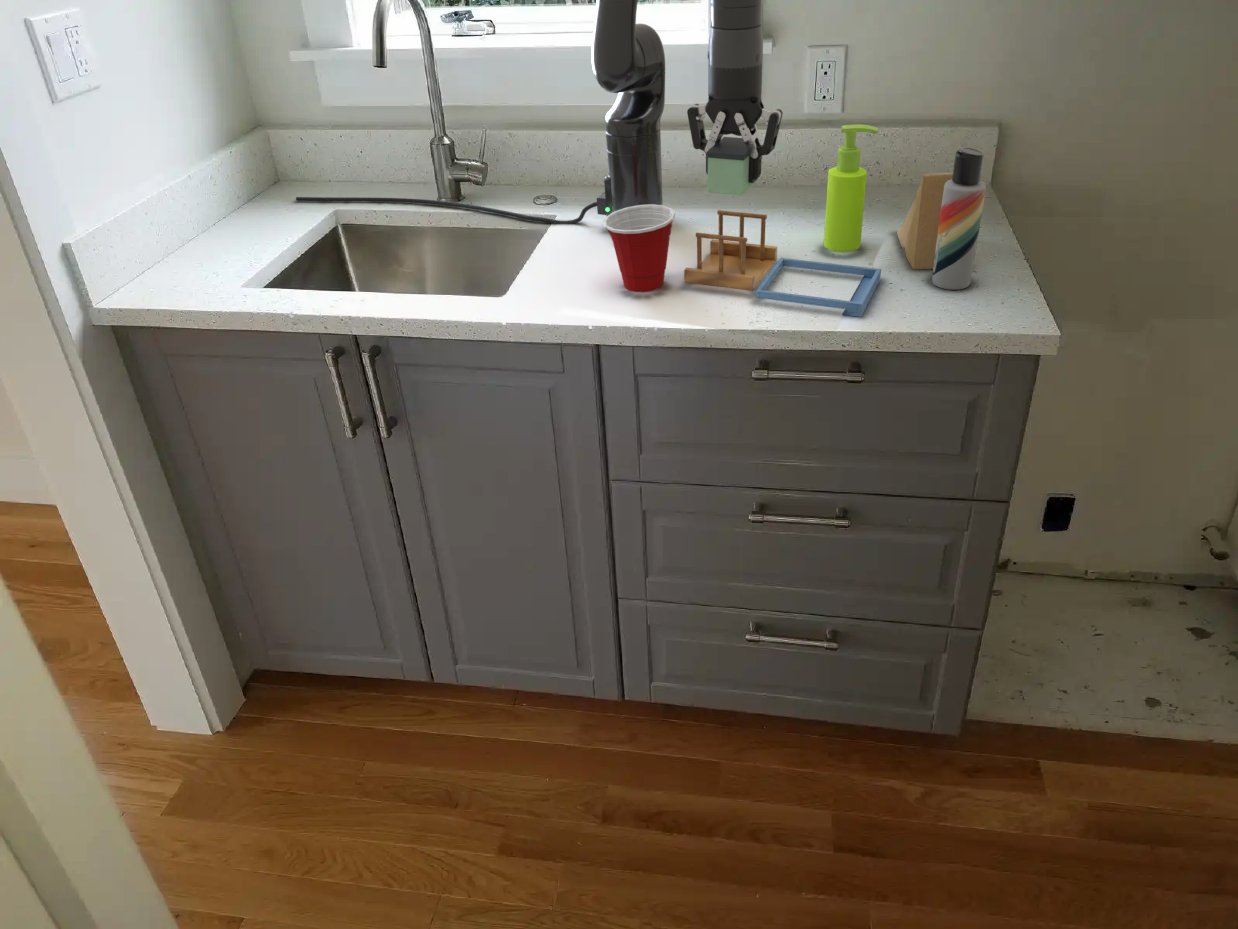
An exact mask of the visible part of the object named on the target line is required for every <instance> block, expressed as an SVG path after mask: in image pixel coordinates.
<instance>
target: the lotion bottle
mask: <svg viewBox="0 0 1238 929" xmlns="http://www.w3.org/2000/svg"><path fill="white" fill-rule="evenodd" d="M984 157H985V153H983V152H982V151H980V150H978V149H975V148H971V147H961V148H958V149H957V151H955V154H954V162H953V168H952V169H953V170H952V172H953V176H952V179H951V180H949V181H947V182H946V183H945V185H944V191H943V198H942V206H941V213H940V221H939V228H938V236H937V243H936V251H935V258H934V266H933V269H932V273H931V274H932V275H931V282H932V283H933V285H934V286H936V287H937V288H940V289H945V290H953V291H954V290H962V289H965V288H968V287H969V286H970V285H971V282H972V278H973V272H974V266H975V259H976V254H977V247H978V241H979V235H980V228H981V223H982V215H983V209H984V203H985V198H986V197H985V196H986V190H987V185H986V183H985V182H984V181H982V180H980V177H981V178H982V169H983V164H984Z"/></svg>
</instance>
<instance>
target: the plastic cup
mask: <svg viewBox="0 0 1238 929" xmlns="http://www.w3.org/2000/svg"><path fill="white" fill-rule="evenodd" d="M675 217H676V212H675V210H674V209H673V208H672V207H670V206H667V205H664V204H663V205H654V204H651V205H637V206H632V207H627V208H624V209H621V210H618V211H615V212H613V213H611V214H610V215H608V216H607V217H606V216H605V218H604V219H603V221H602V223H603V225H604V227H605V229H606V230H607V229H608V231H607V232H608V233H609V236H610V238H611V240H612V244H613V249H614V252H615V256H616V260H617V264H618V268H619V271H620V275H621V279H622V284H623V286H624V288H625V289H626V290H628V291H631V292H634V293H647V292H648V293H649V292H653V291H657V290H658V289H660V288H662V287H663V284H664V281H665V273H666V269H667V263H668V262H667V261H668V255H669V254H668V253H669V247H670V239H671V238H670V237H671V234H672V228H673V221H674V218H675Z"/></svg>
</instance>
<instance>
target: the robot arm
mask: <svg viewBox="0 0 1238 929" xmlns="http://www.w3.org/2000/svg"><path fill="white" fill-rule="evenodd" d="M763 1H764V0H710V29H709V36H708V50H707V60H708V62H707V65H708V66H707V73H708V74H707V75H708V76H707V78H708V79H707V83H708V84H707V94H708V97H707V98H708V99H707V102H706V103H705V104H699V103H695V104H693V105H691V106H690V107H689V108H688V109H687V111H686V114H687V118H688V126H689V130H690V137H691V141H692V146H693V149H694V150H701V151H703V153H705V155H706V152H707V151H708V150H709V149H710V148H712V147H713V146H715V145H716V143H719V142H720V140H721V139H722V138H723V137H724V136H728V135H733V136H739V137H741V138H743V141H744V143H745V144H746V145H747V148H748V149H750V156H751V157H750V158H749V175H748V182H749V183H754V182H755V181H756V180H757V179H758V180H759V178H760V177H761V174H762V157H763V156H768V155H770V154H771V153H772V152H773V151H774V149H775V148H776V144H777V140H778V136H779V132H780V126H781V123H782V119H783V114H784V112H783V110H782V109H780V108H777V109H775V110H774V109H770V108H766V107H765V106H764V104H763V101H762V89H763V88H762V86H763V63H764V62H763V59H764V34H763V9H764V8H763V5H764V2H763ZM638 3H639V0H596V4H595V15H594V24H593V32H592V40H591V43H592V44H591V66H592V71H593V74H594V77H595V79H596V82H597V83H598V85H599V86H600V88H602V89H603V90H604V91H605V92H607V93H611V94H617V97H616V99H615V102H613V104H612V106H611V107H610V108H609V109H608V110H607V112H606V114H605V118H604V126H605V128H604V129H605V139H606V140H605V141H606V158H607V172H608V174H607V175H606V176H605V177H604V179H603V183H604V184H603V185H604V191H603V192H602V193H601V194H599V195H598V196H597V197H596V201H595V202H592V203H590V204H588V205H586V206H585V207H584V208H583V209H582V210H581V212H580V214H579V216H578V217H577V218H574V219H570V220H559V219H553V218H547V217H541V216H534V215H526V214H522V213H517V212H513V211H509V210H504V209H497V208H493V207H487V206H481V205H475V204H469V203H461V202H455V201H446V200H445V201H444V200H434V199H424V198H423V199H422V198H405V197H403V198H402V197H355V196H353V197H327V196H326V197H325V196H324V197H323V196H322V197H320V196H319V197H318V196H296V197H295V201H296V202H381V203H382V202H384V203H385V202H386V203H411V204H412V203H413V204H427V205H437V206H448V207H456V208H462V209H468V210H469V209H470V210H476V211H481V212H487V213H494V214H499V215H503V216H507V217H508V216H509V217H514V218H518V219H521V220H527V221H534V222H543V223H547V224H553V225H575V224H576V223H579V222H581V221H583V219H584V217H585V215H586V213H587V212H588V211H589V210H591V209H594V208H595V207H596V209H597V210H596V212H597V215H600V216H601V215H602V216H605V218H606V217H607V216H608V215H610V214H611V213H613V212H615V211H618V210H621V209H624V208H627V207H632V206H637V205H651V204H654V205H663V206H664V202H663V172H662V171H663V170H662V169H663V168H662V166H663V165H662V140H661V138H662V137H661V136H662V135H661V134H662V133H661V118H662V115H663V112H664V109H665V103H666V56H665V49H664V45H663V42H662V39H661V37H660V35H659V34H658V33H657V31H656V29H654V28H653V27H652V26H650V25H649V24H646V23H637V10H638ZM706 114H707V116H708V118H709V119H710V121H711V122H712V124H713V126H712V128H711V131H710V133H709V136H708V138H707V135H706V130H705V125H704V119H705V118H706ZM761 117H763V124H764V126H766V131H765V136H764V140H763V144H762V142H761V139H760V133H759V130H758V126H757V123H758V121H759V120H760V118H761ZM705 173H706V175H707V176H708V157H706V156H705ZM758 180H757V181H758ZM757 181H756V182H757ZM756 182H755V183H756ZM755 183H754V184H755ZM606 231H607V232H609V231H608V229H606Z"/></svg>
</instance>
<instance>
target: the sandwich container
mask: <svg viewBox="0 0 1238 929" xmlns="http://www.w3.org/2000/svg"><path fill="white" fill-rule="evenodd" d="M952 176H953V171H952V172H939V173H924V174H923V176H922V178H921V181H920V183H919V186H918V189H917V190H916V193H915V195H914V198H913V200H912V202H911V204H910V206H909V209H908V210H907V213H906V214H905V217H904V219H903V221H902V222H901V225H900V226H899V229H898V231H897V232H896V235H897V238H898V240H899V243H900V246H901V248H902V250H903V252H904V254H905V258H906V259H907V262H908V263H909V265H910V266H911V268H912V270H933V266H934V258H935V251H936V243H937V236H938V228H939V221H940V213H941V206H942V198H943V191H944V185H945V183H946V182H947V181H949V180H951V179H952ZM980 181H982V176H981V177H980Z"/></svg>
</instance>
